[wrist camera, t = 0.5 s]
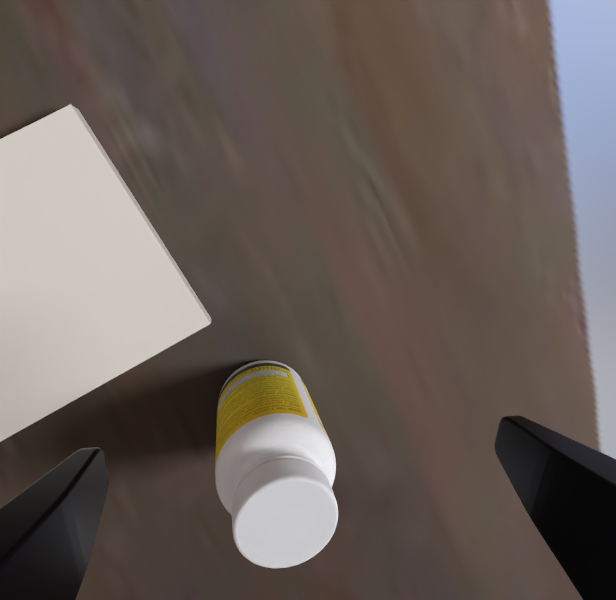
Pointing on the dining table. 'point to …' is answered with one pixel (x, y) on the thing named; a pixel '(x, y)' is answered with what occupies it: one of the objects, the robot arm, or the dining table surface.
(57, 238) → the ceramic tile
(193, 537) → the dining table surface
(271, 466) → the supplement bottle
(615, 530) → the robot arm
